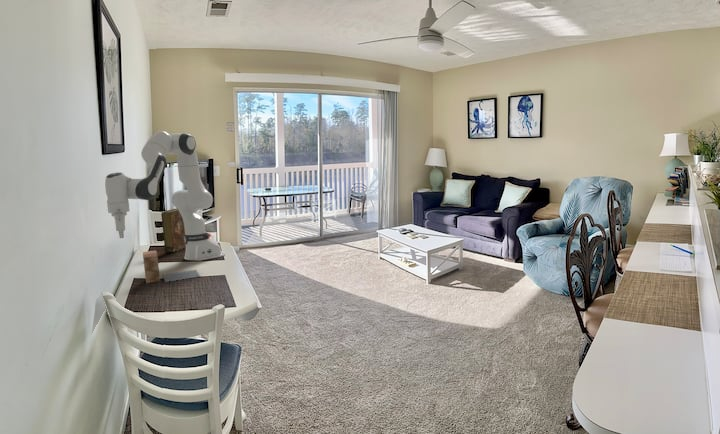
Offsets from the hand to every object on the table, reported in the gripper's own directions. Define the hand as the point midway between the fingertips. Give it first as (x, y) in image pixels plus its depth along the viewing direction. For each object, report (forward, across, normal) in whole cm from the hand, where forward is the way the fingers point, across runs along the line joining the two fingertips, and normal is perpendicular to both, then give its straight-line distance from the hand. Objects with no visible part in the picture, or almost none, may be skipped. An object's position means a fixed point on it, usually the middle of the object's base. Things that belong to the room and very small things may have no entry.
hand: (121, 237), depth 217 cm
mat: (+22, 0, -24) cm, 33 cm away
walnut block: (+22, 0, -11) cm, 25 cm away
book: (+22, +64, -29) cm, 74 cm away
